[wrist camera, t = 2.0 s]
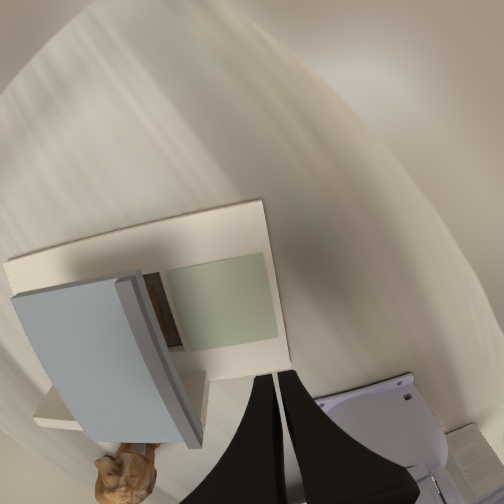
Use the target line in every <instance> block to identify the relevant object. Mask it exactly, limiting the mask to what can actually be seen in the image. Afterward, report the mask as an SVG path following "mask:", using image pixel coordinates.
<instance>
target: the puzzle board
mask: <svg viewBox="0 0 504 504" xmlns="http://www.w3.org/2000/svg"><path fill="white" fill-rule="evenodd" d="M3 266H4V269H5V272H6V275H7V277H8V280H9V283H10V285H11V288H12V291H13V293H14V296H15V295H16V294H17V293H20V292H25V291H30V290H35V289H40V288H45V287H50V286H54V285H59V284H64V283H69V282H74V281H79V280H84V279H89V278H94V277H99V276H104V275H109V274H114V273H119V272H124V271H129V270H134V269H139V268H140V269H141V272H142V275H145V274H150V273H155V272H159V274H160V277H161V280H162V284H163V287H164V290H165V293H166V297H167V300H168V303H169V306H170V309H171V312H172V315H173V318H174V321H175V324H176V327H177V330H178V333H179V336H180V338H181V341H182V344H183V345H181V346H173V347H168V350H169V352H170V355H171V358H172V360H173V363H174V365H175V368H176V370H177V372H178V375H179V377H180V380H181V382H182V384H183V387H184V389H185V392H186V394H187V396H188V398H189V401H190V403H191V405H192V407H193V410H194V412H195V414H196V416H197V418H198V421H199V423H200V425H201V427H202V429H203V430H205V423H206V414H207V404H208V394H209V385H210V381H215V380H222V379H229V378H236V377H243V376H249V375H255V374H261V373H267V372H272V371H278V370H283V369H288V368H291V363H290V357H289V351H288V345H287V339H286V333H285V327H284V321H283V315H282V310H281V304H280V298H279V292H278V287H277V281H276V275H275V270H274V264H273V258H272V253H271V247H270V242H269V236H268V231H267V225H266V220H265V215H264V209H263V204H262V200H261V199H258V200H252V201H247V202H242V203H237V204H232V205H227V206H222V207H217V208H213V209H208V210H203V211H198V212H194V213H189V214H185V215H180V216H176V217H171V218H167V219H162V220H158V221H154V222H149V223H145V224H141V225H137V226H133V227H128V228H124V229H120V230H116V231H112V232H108V233H104V234H100V235H97V236H93V237H89V238H85V239H81V240H78V241H74V242H70V243H66V244H63V245H59V246H56V247H52V248H48V249H45V250H41V251H38V252H34V253H31V254H28V255H24V256H21V257H17V258H14V259H11V260H8V261H6V262H5V263H3ZM33 418H34V420H35V421H36V423H37V424H38V425H39V426H44V427H51V428H60V429H70V430H81V431H83V429H82V428H81V426H80V425H79V424H78V422H77V421H76V419H75V418H74V416H73V415H72V413H71V412H70V411H69V409H68V407H67V406H66V404H65V403H64V401H63V400H62V398H61V397H60V395H59V393H58V392H57V390H56V388H55V387H54V385H53V386H52V387H51V389H50V390H49V392H48V393H47V395H46V397H45V398H44V400H43V401H42V403H41V404H40V406H39V407H38V409H37V410H36V412H35V414H34V415H33Z"/></svg>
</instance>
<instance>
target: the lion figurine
mask: <svg viewBox="0 0 504 504" xmlns="http://www.w3.org/2000/svg"><path fill="white" fill-rule="evenodd" d="M132 444H133V443H123V442H122V443H121V446H120V447H119V449H118V451H117V453H116V457H115V456H114V455H113V454H112V453H111V452H108V453H106V454H105V456H104V457H103V458H100V459H98V460H96V461H94V464H95V466H96V467H97V468H98V470H99V472H98V478H97V481H96V485H95V498H96V500H97V501H98V502H99V503H100V504H139V503H141V502H143V501H144V500H145V498H146V497H148V496H149V495H150V494H151V493H152V489H153V488H154V485H155V483H156V476H157V471H156V469H155V467H154V457H155V454H154V451H155V448H158V447H159V446H160V443H146V454H145V455H144V454H142V453H140V452H138V451H134V450H129V449H130V447H131V446H132Z"/></svg>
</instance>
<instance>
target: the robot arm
mask: <svg viewBox="0 0 504 504" xmlns="http://www.w3.org/2000/svg"><path fill="white" fill-rule="evenodd" d="M277 374H278V381H279V387H280V392H281V397H282V402H283V407H284V412H285V417H286V422H287V427H288V431H289V434H290V438H291V441H292V445H293V448H294V451H295V455H296V458H297V462H298V465H299V468H300V472H301V476H302V480H303V486H304V491H305V497H306V502H307V504H465V502H464V500H463V498H462V496H461V494H460V492H459V490H458V488H457V486H456V484H455V482H454V480H453V479H452V477H451V475H450V474H449V472H448V471H447V469H444V467H445V465H446V463H447V458H448V446H447V441H446V437H445V434H444V431H443V429H442V427H441V425H440V423H439V421H438V420H437V418H436V417H435V415H434V414H433V412H432V410H431V409H430V407H429V406H428V404H427V403H426V401H425V400H424V398H423V397H422V395H421V394H420V392H419V391H418V389H417V388H416V386H415V385H414V376H413V374H411V373H409V374H406V375H403V376H400V377H397V378H394V379H391V380H388V381H384V382H381V383H378V384H375V385H371V386H368V387H364V388H361V389H357V390H354V391H350V392H346V393H342V394H338V395H334V396H330V397H326V398H322V399H317V400H314V399H313V398H312V397H311V396H310V394H309V393H308V392H307V390H306V389H305V387H304V386H303V384H302V382H301V381H300V379H299V377H298V375H297V373H296V371H295V370H288V371H283V372H278V373H277ZM321 403H323V404H321ZM432 476H433V477H434V479H435V483H436V485H437V488H438V490H439V492H440V493H439V492H438V490H437V488H436V486H435V484H434V482H433V481H432V478H431V477H432ZM179 504H288V497H287V491H286V484H285V473H284V449H283V429H282V423H281V417H280V411H279V405H278V401H277V396H276V391H275V387H274V382H273V377H272V374H267V375H261V376H256V377H255V378H254V383H253V388H252V392H251V395H250V399H249V402H248V405H247V408H246V410H245V413H244V416H243V418H242V420H241V423H240V425H239V427H238V429H237V431H236V433H235V435H234V437H233V439H232V441H231V443H230V444H229V446H228V448H227V449H226V451H225V452H224V454H223V455H222V457H221V458H220V460H219V461H218V463H217V464H216V465H215V467H214V468H213V469H212V471H211V472H210V473H209V474H208V475H207V476H206V478H205V479H204V480H203V481H202V482H201V483H200V484H199V485H198V486H197V487H196V488H195V490H193V491H192V492H191V493H190V494H189V495H188V496H187V497H186V498H185V499H184V500H182V501H181V502H180V503H179ZM469 504H504V482H503V483H502V484H500V485H499V486H497V487H496V488H494V489H493V490H491V491H490V492H488V493H486V494H485V495H483V496H481V497H480V498H478V499H476V500H475V501H473V502H471V503H469Z"/></svg>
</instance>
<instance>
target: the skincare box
mask: <svg viewBox="0 0 504 504" xmlns="http://www.w3.org/2000/svg"><path fill="white" fill-rule="evenodd" d="M445 437H446V441H447V446H448V458H447V463H446V465H445V467H444V469H447V471H448V472H449V474H450V475H451V477H452V479H453V480H454V482H455V484H456V486H457V488H458V490H459V492H460V494H461V496H462V498H463V500H464V502H465V504H469V503H471V502H473V501H475V500H476V499H478V498H480V497H481V496H483V495H485V494H486V493H488V492H490V491H491V490H493V489H494V488H496V487H497V486H499V485H500V484H502V483H503V482H504V466H503V464H502V463H501V461H500V460H499V458H498V457H497V455H496V454H495V452H494V451H493V449H492V448H491V446H490V445H489V443H488V442H487V441H486V439H485V438H484V436H483V435H482V433H481V432H480V431H479V429H478V428H477V426H476V425H475V424H474V423H472V424H469V425H467V426H465V427H463V428H460V429H458V430H456V431H453V432H451V433H448V434H446V435H445Z"/></svg>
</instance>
